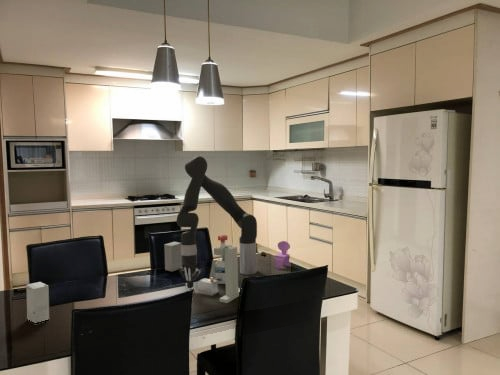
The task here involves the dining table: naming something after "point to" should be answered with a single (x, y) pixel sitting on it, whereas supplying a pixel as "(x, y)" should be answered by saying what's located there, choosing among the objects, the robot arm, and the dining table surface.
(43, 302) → the skincare box
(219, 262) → the ram
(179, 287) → the dining table surface
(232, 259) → the press frame
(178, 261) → the skincare box
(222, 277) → the light bulb box
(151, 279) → the dining table surface
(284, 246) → the purple upright piece
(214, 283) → the housing
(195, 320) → the dining table surface
